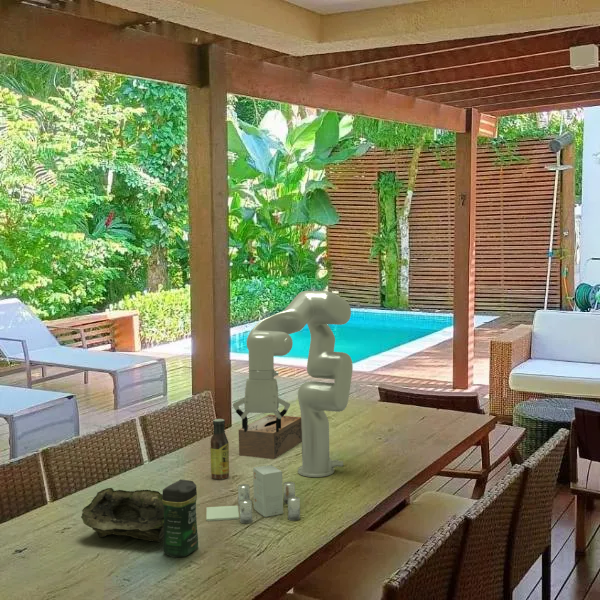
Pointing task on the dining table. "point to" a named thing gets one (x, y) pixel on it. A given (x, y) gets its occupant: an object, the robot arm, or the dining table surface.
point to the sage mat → (222, 513)
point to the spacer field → (288, 499)
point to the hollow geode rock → (126, 514)
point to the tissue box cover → (270, 437)
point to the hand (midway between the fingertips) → (261, 431)
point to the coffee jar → (180, 518)
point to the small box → (268, 490)
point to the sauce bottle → (219, 451)
